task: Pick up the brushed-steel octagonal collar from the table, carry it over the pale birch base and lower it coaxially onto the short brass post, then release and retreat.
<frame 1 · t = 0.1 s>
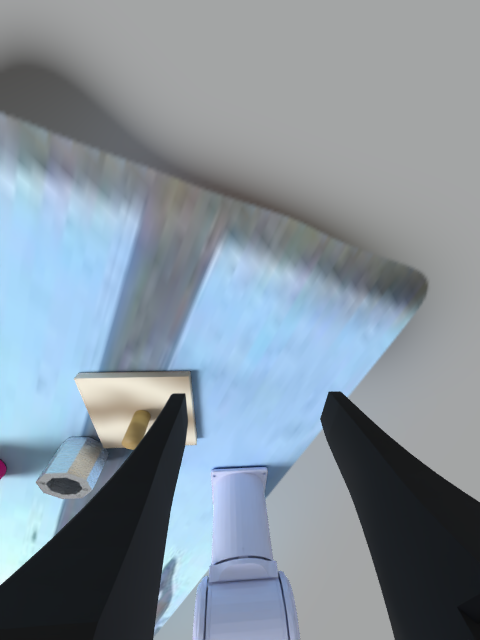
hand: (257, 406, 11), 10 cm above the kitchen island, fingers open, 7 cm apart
collar: (85, 450, 28), on the kitchen island
post block: (144, 409, 25), on the kitchen island
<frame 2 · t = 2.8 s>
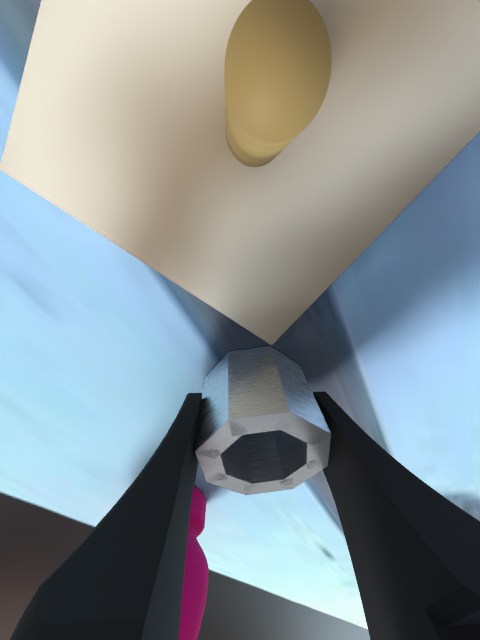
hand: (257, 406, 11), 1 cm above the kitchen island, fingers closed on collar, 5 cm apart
collar: (253, 386, 12), on the kitchen island, touching gripper
post block: (252, 137, 7), on the kitchen island
pepper mill: (167, 497, 18), on the kitchen island
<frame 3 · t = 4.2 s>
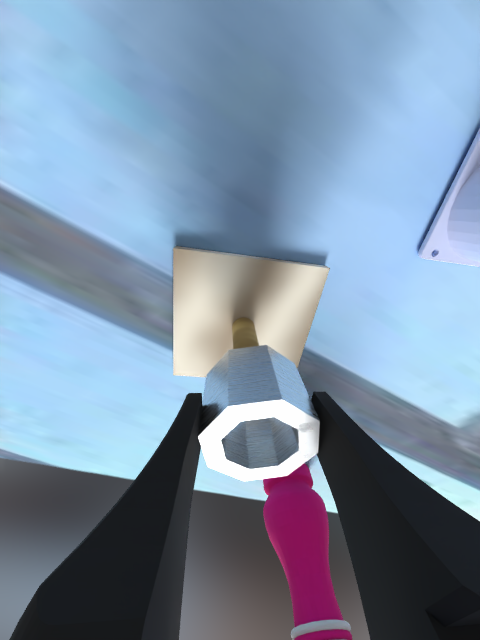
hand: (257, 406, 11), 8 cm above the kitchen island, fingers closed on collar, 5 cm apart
collar: (252, 382, 13), point 6 cm above the kitchen island, touching gripper
post block: (242, 322, 18), on the kitchen island
pepper mill: (285, 471, 30), on the kitchen island
when the fingers open (4 cm above the kitchen island, at t = 5.7 s): collar stays where it is, resting on post block.
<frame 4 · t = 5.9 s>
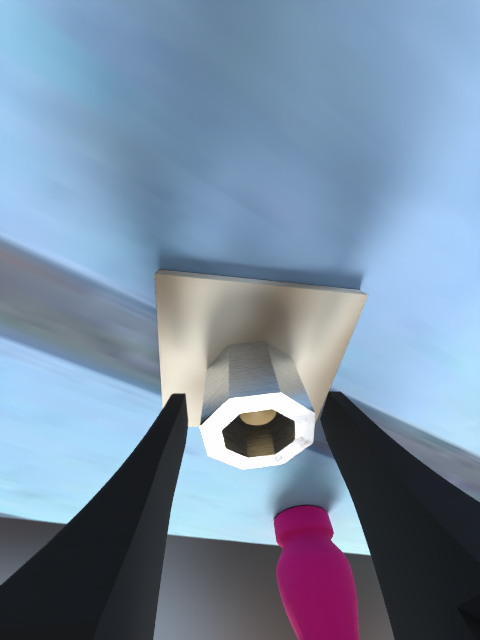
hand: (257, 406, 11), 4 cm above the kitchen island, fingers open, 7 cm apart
collar: (250, 376, 14), point 1 cm above the kitchen island, touching post block
post block: (250, 361, 14), on the kitchen island
pepper mill: (299, 515, 25), on the kitchen island
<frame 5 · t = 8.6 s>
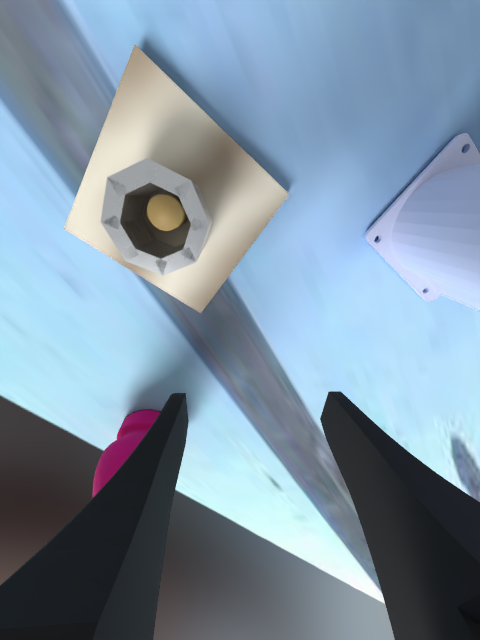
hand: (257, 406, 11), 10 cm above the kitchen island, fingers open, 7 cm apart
collar: (172, 219, 15), point 1 cm above the kitchen island, touching post block
post block: (178, 211, 16), on the kitchen island
pepper mill: (151, 425, 26), on the kitchen island
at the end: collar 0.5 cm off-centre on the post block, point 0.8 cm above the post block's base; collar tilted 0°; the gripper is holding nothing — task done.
